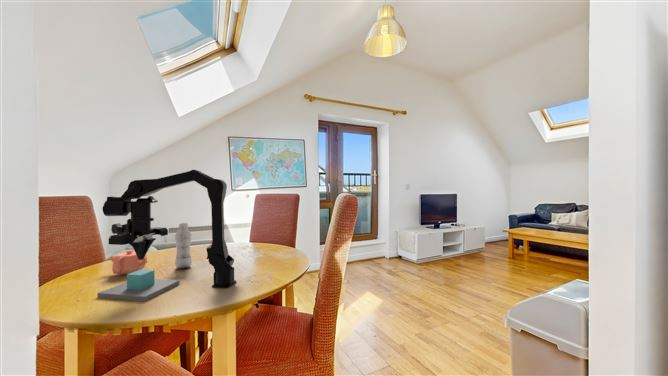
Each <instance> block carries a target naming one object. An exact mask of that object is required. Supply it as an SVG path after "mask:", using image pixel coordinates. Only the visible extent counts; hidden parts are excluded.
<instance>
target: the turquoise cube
mask: <svg viewBox="0 0 668 376" xmlns="http://www.w3.org/2000/svg"><path fill="white" fill-rule="evenodd" d="M154 279H155V270H153V269H141V270H138V271H135V272H132V273H129V274H126V282H127V289H136V290H142V289H144V288H146V287H149V286H151V285H153V284H154Z"/></svg>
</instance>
